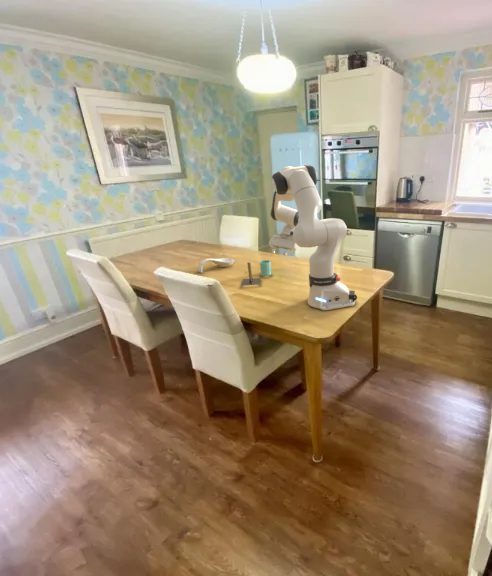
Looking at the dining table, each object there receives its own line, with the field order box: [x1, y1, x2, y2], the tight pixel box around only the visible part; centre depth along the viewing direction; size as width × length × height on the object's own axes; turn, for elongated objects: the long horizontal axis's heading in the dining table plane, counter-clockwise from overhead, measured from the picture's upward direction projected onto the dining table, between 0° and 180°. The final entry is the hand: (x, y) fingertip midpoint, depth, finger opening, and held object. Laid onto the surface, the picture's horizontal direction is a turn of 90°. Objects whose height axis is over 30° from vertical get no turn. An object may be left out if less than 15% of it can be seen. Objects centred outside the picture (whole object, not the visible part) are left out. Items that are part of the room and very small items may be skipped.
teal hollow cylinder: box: [259, 259, 273, 277], centre depth 185 cm, size 6×6×9 cm
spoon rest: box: [197, 257, 235, 274], centre depth 202 cm, size 24×12×7 cm, turn 135°
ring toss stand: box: [240, 261, 262, 286], centre depth 174 cm, size 10×10×12 cm
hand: (278, 254), depth 192 cm, fingers open, 8 cm apart
